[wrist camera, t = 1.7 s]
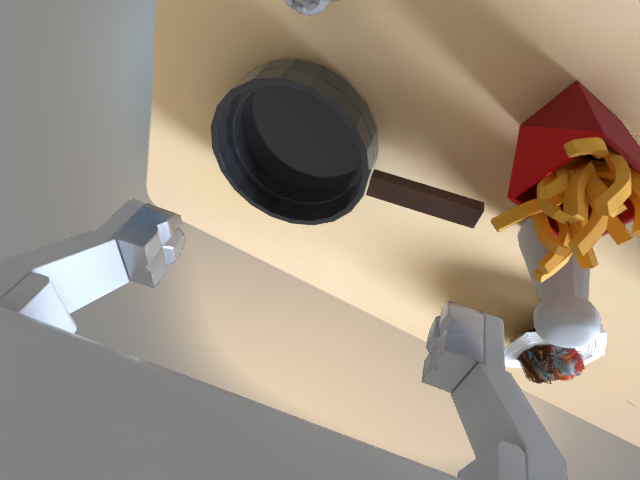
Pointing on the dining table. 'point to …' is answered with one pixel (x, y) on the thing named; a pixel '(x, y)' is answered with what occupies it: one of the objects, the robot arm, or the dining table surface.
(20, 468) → the robot arm
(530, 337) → the white tray with chunks
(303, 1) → the rook chess piece
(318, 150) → the pan
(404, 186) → the pan handle
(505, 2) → the dining table surface
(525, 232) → the salt shaker
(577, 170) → the french fries
